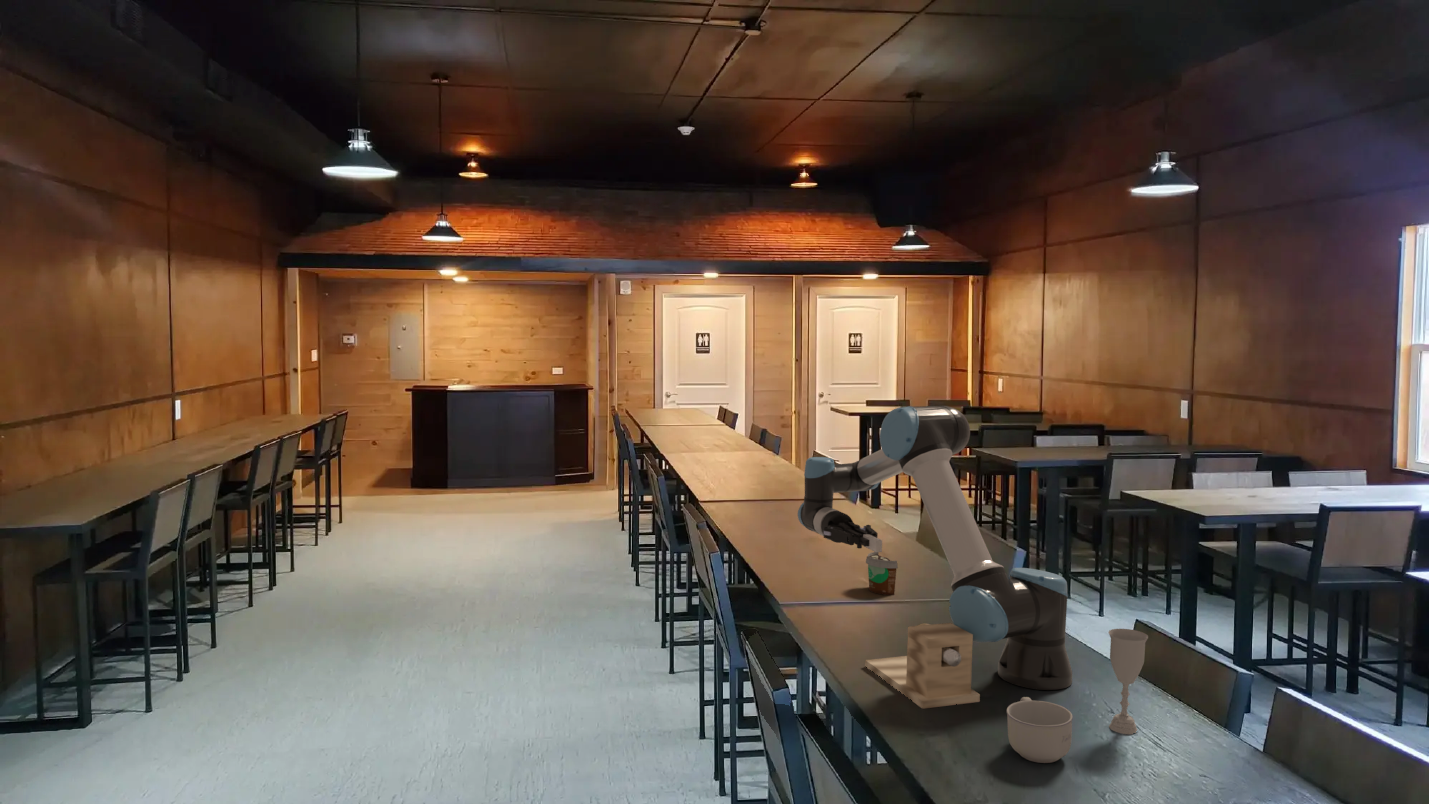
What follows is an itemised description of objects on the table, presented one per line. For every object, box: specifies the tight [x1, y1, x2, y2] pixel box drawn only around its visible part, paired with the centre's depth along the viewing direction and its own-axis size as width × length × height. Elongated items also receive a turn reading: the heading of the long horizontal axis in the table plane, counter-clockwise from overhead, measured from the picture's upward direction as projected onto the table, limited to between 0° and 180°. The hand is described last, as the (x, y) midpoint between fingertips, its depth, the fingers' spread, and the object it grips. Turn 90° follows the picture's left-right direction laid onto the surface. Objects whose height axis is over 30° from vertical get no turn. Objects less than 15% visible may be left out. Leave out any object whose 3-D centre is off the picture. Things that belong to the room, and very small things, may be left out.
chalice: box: [1107, 628, 1149, 735], centre depth 174 cm, size 7×7×18 cm
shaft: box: [916, 622, 961, 667], centre depth 189 cm, size 12×7×7 cm, turn 18°
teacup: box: [1006, 696, 1073, 764], centre depth 164 cm, size 14×11×8 cm
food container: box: [865, 551, 899, 596], centre depth 266 cm, size 12×6×10 cm, turn 17°
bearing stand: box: [864, 622, 981, 709], centre depth 195 cm, size 24×13×14 cm, turn 18°
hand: (879, 546), depth 212 cm, fingers closed
